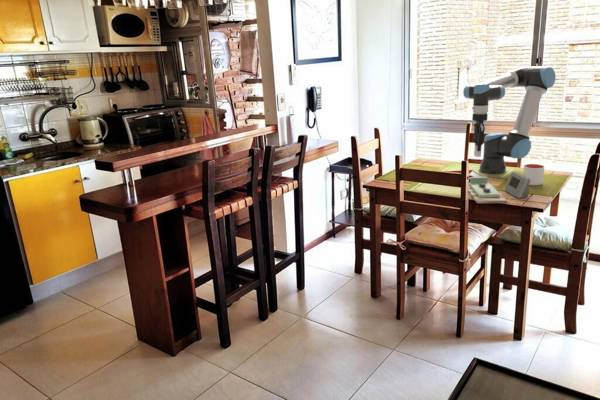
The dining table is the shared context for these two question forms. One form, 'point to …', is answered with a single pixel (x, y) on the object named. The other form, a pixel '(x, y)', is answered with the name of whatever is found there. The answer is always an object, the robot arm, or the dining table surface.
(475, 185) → the panel
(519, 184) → the digital clock
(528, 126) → the robot arm
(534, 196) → the dining table surface
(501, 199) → the board
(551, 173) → the dining table surface
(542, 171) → the cup
